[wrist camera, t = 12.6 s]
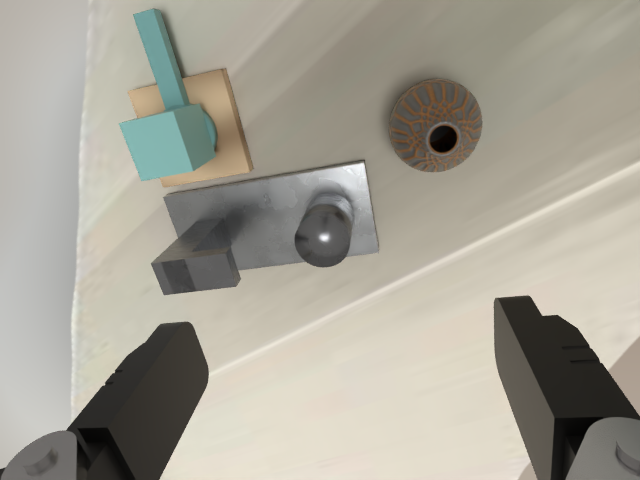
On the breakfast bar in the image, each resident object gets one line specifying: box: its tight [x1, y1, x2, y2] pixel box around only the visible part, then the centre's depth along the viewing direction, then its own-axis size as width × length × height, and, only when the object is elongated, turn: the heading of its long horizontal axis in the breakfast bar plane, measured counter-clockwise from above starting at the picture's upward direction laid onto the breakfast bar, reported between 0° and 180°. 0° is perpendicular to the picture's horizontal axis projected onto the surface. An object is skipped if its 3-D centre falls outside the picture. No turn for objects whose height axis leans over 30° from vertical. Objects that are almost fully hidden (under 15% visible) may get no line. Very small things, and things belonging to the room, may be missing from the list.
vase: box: [389, 79, 482, 172], centre depth 31 cm, size 7×7×9 cm
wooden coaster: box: [128, 69, 253, 187], centre depth 38 cm, size 9×9×1 cm
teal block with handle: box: [119, 9, 218, 181], centre depth 33 cm, size 5×12×6 cm, turn 12°
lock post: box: [151, 160, 379, 295], centre depth 36 cm, size 9×20×10 cm, turn 102°
